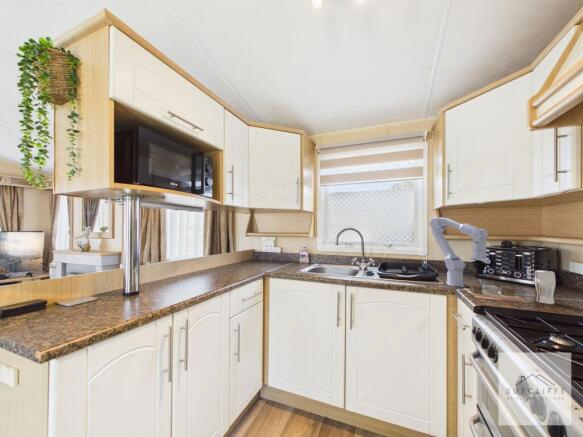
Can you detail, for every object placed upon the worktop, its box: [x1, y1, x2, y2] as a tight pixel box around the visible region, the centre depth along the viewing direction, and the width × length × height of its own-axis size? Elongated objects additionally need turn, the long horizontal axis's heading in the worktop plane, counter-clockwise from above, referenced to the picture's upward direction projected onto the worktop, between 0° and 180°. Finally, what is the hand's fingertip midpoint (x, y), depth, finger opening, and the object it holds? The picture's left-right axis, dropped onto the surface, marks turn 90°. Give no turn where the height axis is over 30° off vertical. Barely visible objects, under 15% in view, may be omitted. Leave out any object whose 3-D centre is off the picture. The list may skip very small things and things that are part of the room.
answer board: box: [462, 287, 530, 303], centre depth 127 cm, size 20×22×1 cm
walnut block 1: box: [469, 283, 483, 294], centre depth 130 cm, size 4×4×4 cm
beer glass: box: [533, 269, 556, 305], centre depth 115 cm, size 7×7×15 cm
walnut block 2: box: [500, 285, 516, 296], centre depth 126 cm, size 4×4×4 cm
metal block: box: [484, 284, 499, 295], centre depth 128 cm, size 4×4×4 cm
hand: (479, 274), depth 135 cm, fingers closed
